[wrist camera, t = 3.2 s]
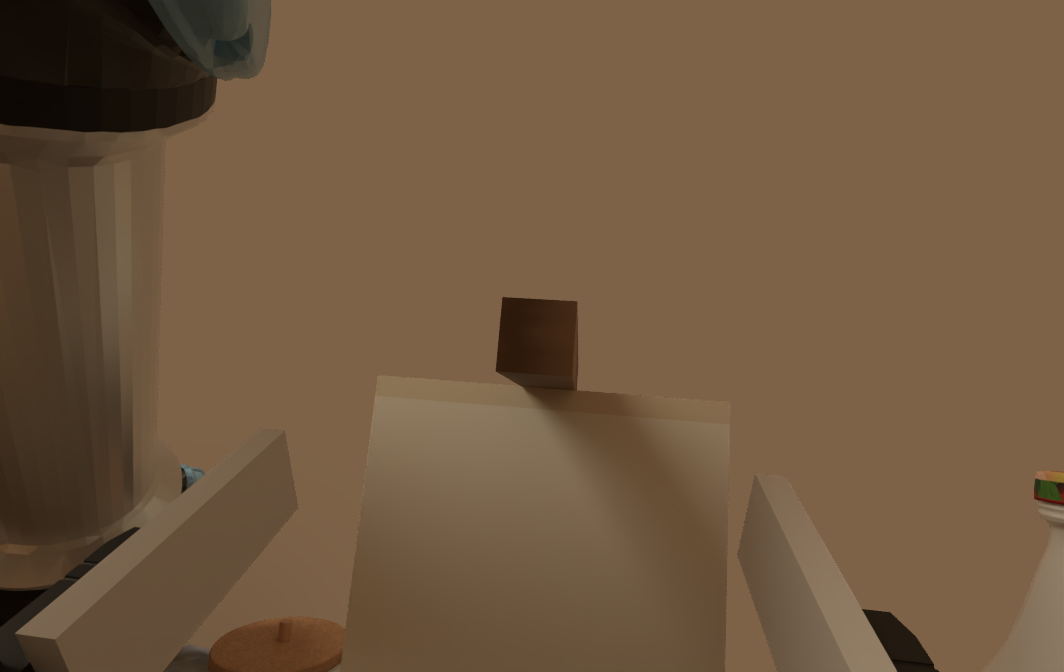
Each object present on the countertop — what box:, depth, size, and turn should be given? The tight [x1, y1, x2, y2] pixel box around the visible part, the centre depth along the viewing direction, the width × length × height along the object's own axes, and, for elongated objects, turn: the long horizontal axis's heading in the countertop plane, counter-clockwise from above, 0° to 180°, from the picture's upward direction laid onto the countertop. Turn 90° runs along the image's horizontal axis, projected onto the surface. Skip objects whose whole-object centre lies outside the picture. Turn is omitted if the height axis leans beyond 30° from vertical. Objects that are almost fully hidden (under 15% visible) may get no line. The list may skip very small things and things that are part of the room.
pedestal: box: [340, 375, 730, 672], centre depth 34 cm, size 20×16×30 cm
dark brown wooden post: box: [496, 297, 578, 390], centre depth 32 cm, size 3×24×3 cm, turn 175°
